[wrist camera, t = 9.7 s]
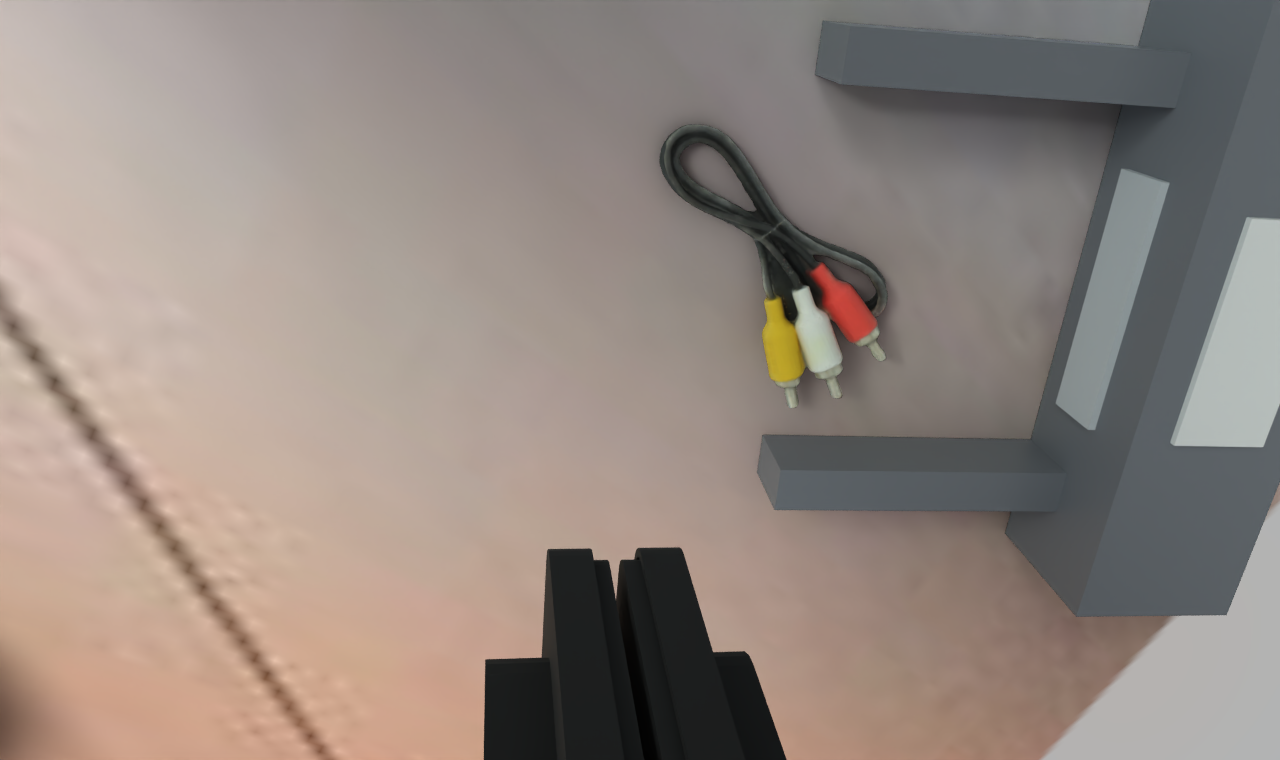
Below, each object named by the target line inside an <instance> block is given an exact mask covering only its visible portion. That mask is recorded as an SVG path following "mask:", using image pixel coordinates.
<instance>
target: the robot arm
mask: <svg viewBox="0 0 1280 760" xmlns="http://www.w3.org/2000/svg"><path fill="white" fill-rule="evenodd" d="M484 760H786V757H785V754H784V751H783V748H782V745H781V742H780V740H779V737H778V734H777V731H776V728H775V725H774V722H773V720H772V717H771V714H770V711H769V708H768V705H767V702H766V699H765V697H764V694H763V691H762V688H761V685H760V682H759V679H758V677H757V674H756V671H755V668H754V665H753V663H752V661H751V659H750V656H749V655H748V654H747V653H746V652H745V651H742V652H713V651H712V647H711V644H710V641H709V637H708V634H707V631H706V627H705V624H704V621H703V617H702V614H701V611H700V607H699V604H698V601H697V597H696V594H695V590H694V587H693V584H692V580H691V577H690V574H689V570H688V567H687V564H686V560H685V557H684V554H683V551H682V549H681V548H679V547H678V548H638V549H637V550H636V553H635V559H634V560H621V561H620V565H619V574H618V586H617V597H616V598H615V593H614V587H613V581H612V576H611V570H610V565H609V561H608V560H594V559H593V553H592V550H591V549H548V551H547V560H546V580H545V601H544V622H543V643H542V658H518V659H487V660H485V718H484Z"/></svg>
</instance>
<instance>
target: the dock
mask: <svg viewBox="0 0 1280 760" xmlns="http://www.w3.org/2000/svg"><path fill="white" fill-rule="evenodd" d="M815 75H817V76H820V77H823V78H825V79H828V80H831V81H833V82H836V83H839V84H843V85H857V86H871V87H885V88H899V89H913V90H927V91H942V92H956V93H970V94H984V95H998V96H1012V97H1026V98H1040V99H1054V100H1068V101H1082V102H1096V103H1111V104H1122V108H1121V111H1120V115H1119V119H1118V122H1117V126H1116V130H1115V133H1114V137H1113V141H1112V144H1111V148H1110V152H1109V155H1108V159H1107V163H1106V166H1105V170H1104V174H1103V177H1102V181H1101V185H1100V188H1099V192H1098V195H1097V199H1096V203H1095V206H1094V210H1093V214H1092V217H1091V221H1090V225H1089V228H1088V232H1087V236H1086V239H1085V243H1084V247H1083V250H1082V254H1081V258H1080V261H1079V265H1078V269H1077V272H1076V276H1075V280H1074V283H1073V287H1072V291H1071V294H1070V298H1069V302H1068V305H1067V309H1066V312H1065V316H1064V320H1063V323H1062V327H1061V331H1060V334H1059V338H1058V342H1057V345H1056V349H1055V353H1054V356H1053V360H1052V364H1051V367H1050V371H1049V375H1048V378H1047V382H1046V386H1045V389H1044V393H1043V397H1042V400H1041V404H1040V408H1039V411H1038V415H1037V419H1036V422H1035V426H1034V429H1033V433H1032V437H1031V439H973V438H915V437H857V436H800V435H763V436H762V443H761V449H760V456H759V463H758V470H757V473H758V476H759V478H760V480H761V482H762V484H763V486H764V488H765V491H766V493H767V495H768V497H769V499H770V501H771V503H772V506H773V508H774V510H868V511H1011V514H1010V517H1009V521H1008V525H1007V528H1006V532H1005V534H1006V535H1007V536H1008V537H1009V538H1010V540H1011V541H1012V542H1013V543H1014V544H1015V545H1016V547H1017V548H1018V549H1019V550H1020V551H1021V552H1022V554H1023V555H1024V556H1025V557H1026V558H1027V560H1028V561H1029V562H1030V563H1031V564H1032V565H1033V567H1034V568H1035V569H1036V570H1037V571H1038V572H1039V574H1040V575H1041V576H1042V577H1043V578H1044V579H1045V581H1046V582H1047V583H1048V584H1049V585H1050V587H1051V588H1052V589H1053V590H1054V591H1055V592H1056V594H1057V595H1058V596H1059V597H1060V598H1061V599H1062V601H1063V602H1064V603H1065V604H1066V605H1067V606H1068V608H1069V609H1070V610H1071V611H1072V612H1073V613H1074V615H1075V616H1076V617H1087V616H1182V615H1226V614H1227V612H1228V610H1229V607H1230V605H1231V602H1232V600H1233V597H1234V595H1235V592H1236V590H1237V587H1238V585H1239V582H1240V580H1241V577H1242V575H1243V572H1244V570H1245V567H1246V565H1247V562H1248V560H1249V557H1250V555H1251V552H1252V550H1253V547H1254V545H1255V542H1256V540H1257V537H1258V535H1259V532H1260V530H1261V527H1262V525H1263V522H1264V520H1265V517H1266V515H1267V512H1268V510H1269V507H1270V505H1271V502H1272V500H1273V497H1274V495H1275V492H1276V490H1277V487H1278V485H1279V482H1280V0H1151V2H1150V5H1149V9H1148V13H1147V16H1146V20H1145V24H1144V27H1143V31H1142V35H1141V38H1140V42H1139V46H1130V45H1118V44H1105V43H1093V42H1080V41H1068V40H1055V39H1043V38H1031V37H1018V36H1006V35H993V34H981V33H968V32H956V31H944V30H931V29H919V28H906V27H894V26H882V25H869V24H857V23H844V22H832V21H823V23H822V30H821V37H820V44H819V51H818V58H817V64H816V71H815Z"/></svg>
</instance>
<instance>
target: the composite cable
mask: <svg viewBox="0 0 1280 760" xmlns="http://www.w3.org/2000/svg"><path fill="white" fill-rule="evenodd" d="M694 143H705V144H707V145H709V146H711V147H713V148H714V149H715V150H717V151H718V152H719V153H720V154H721V155H722V156H723V157H724V158H725V159H726V161H727V162H728V164H729V165H730V167H732V169H733V170H734V172H735V173H736V175H737V177H738V178H739V180H740V181H741V183H742V185H743V187H744V189H745V191H746V192H747V193H748V195H749V197H750V198H751V200H752V201H753V203H754V206H755V208H756V209H757V210H756V211H755V212H749V211H745V210H743V209H742V208H741V207H739V206H737V205H735V204H733V203H731V202H730V201H728V200H726V199H724V198H722V197H720V196H718V195H716V194H714V193H712V192H710V191H708V190H706V189H705V188H703V187H702V186H700V185H698V184H697V183H695V182H694V181H693V180H692V179H691V178H690V177H688V176H687V174H686V173H685V172H684V170H683V168H682V166H681V163H680V155H681V153H682V151H683V150H684V149H685V148H686V147H688V146H689V145H691V144H694ZM660 166H661V169H662V173H663V175H664V177H665V178H666V180H667V181H668V183H669V185H670V186H671V187H672V189H673V190H674V191H675V192H676V193H677V194H678V195H679V196H680V197H682V198H683V199H684V200H685V201H686V202H688V203H690V204H691V205H693V206H694V207H696V208H698V209H700V210H702V211H704V212H706V213H709V214H711V215H713V216H715V217H717V218H720V219H722V220H724V221H726V222H727V223H730V224H732V225H734V226H735V227H737V228H739V229H741V230H742V231H744V232H745V233H747V234H748V235H750V236H751V237H752V238H753V239H754V241H755V243H756V246H757V248H758V253H759V258H760V262H761V268H762V279H763V287H764V290H765V293H766V296H767V298H766V299H765V300H764V305H765V310H766V315H767V323H766V325H765V327H764V328H763V331H762V338H763V344H764V349H765V354H766V360H767V365H768V370H769V376H770V378H771V379H772V380H774V381H775V383H776V385H777V386H779V387H782V388H784V389H785V395H786V400H787V406H788V407H789V408H796V407H797V406H798V395H797V391H796V386H797V385H799V382H800V377H801V375H802V374H803V372H804V370H805V369H806V368H807V367H808V368H809V370H810V371H812V372H814V373H815V376H816V378H817V379H825V380H826V382H827V386H828V388H829V390H830V395H831V396H832V397H833V398H836V399H839V398H841V397H842V395H843V394H842V391H841V388H840V386H839V383H838V380H837V377H836V376H837V375H838V374H840V373H841V372H842V370H843V366H842V364H841V361H842V359H843V356H842V352H841V350H840V347H839V345H838V342H837V339H836V336H835V333H834V330H833V327H832V324H831V322H830V319H831V320H832V321H834V322H835V323H836V324H837V325H838V327H839V329H840V331H841V332H842V333H843V334H844V336H845V337H846V339H847V340H848V341H849V342H852V343H854V344H856V345H857V346H860V347H861V346H865V345H866V346H867V347H868V348H870V350H871V353H872V355H873V356H874V357H875V358H876V359H877V360H878V361H884V360H885V359H886V354H885V352H884V351H883V350H882V348H881V347H880V346H879V344H878V342H877V338H878V336H879V334H880V330H879V328H878V326H877V320H876V319H875V318H876V317H878V316H879V315H880V314H881V312H882V311H883V310H884V308H885V306H886V303H887V297H888V296H887V290H886V284H885V280H884V278H883V276H882V275H881V273H880V272H879V271H878V270H877V268H876V267H875V266H874V265H873V264H872V263H871V262H870V261H869V260H867V259H866V258H864V257H862V256H860V255H858V254H856V253H854V252H850V251H848V250H846V249H844V248H841V247H837V246H835V245H832V244H829V243H826V242H824V241H822V240H819V239H817V238H815V237H813V236H810V235H808V234H807V233H805V232H803V231H801V230H799V229H798V228H797V227H795V226H794V225H792V224H791V223H790V222H789V221H788V220H787V219H786V218H785V217H784V216H783V215H782V214H781V213H780V212H779V210H778V209H777V208H776V206H775V205H774V203H773V202H772V200H771V198H770V197H769V195H768V194H767V192H766V191H765V189H764V187H763V186H762V184H761V182H760V180H759V179H758V177H757V175H756V173H755V172H754V170H753V168H752V167H751V165H750V164H749V162H748V161H747V159H746V157H745V156H744V154H743V153H742V152H741V150H740V149H739V148H738V147H737V146H736V145H735V143H734V142H733V141H732V140H731V139H730V138H729V137H728V136H727V135H725V134H724V133H722V132H721V131H720V130H718V129H716V128H713V127H711V126H706V125H685V126H683V127H680V128H679V129H677V130H676V131H674V132H673V133H672V134H671V135H669V136H668V138H667V139H666V141H665V142H664V144H663V146H662V148H661V153H660ZM813 255H823V256H827V257H830V258H832V259H834V260H837V261H840V262H842V263H844V264H846V265H848V266H851V267H853V268H855V269H858V270H860V271H862V272H863V273H865V274H866V275H867V276H868V277H869V279H870V280H871V282H872V283H873V284H874V286H875V288H876V294H875V296H874V297H873V298H872V299H871V300H869V301H867V302H866V303H864V302H863V300H862V299H861V297H860V296H859V295H858V293H857V292H856V291H855V289H854V288H853V286H852V285H851V284H849V283H848V282H844V281H841V280H838V279H837V278H835V277H834V275H833V274H832V273H831V271H830V270H829V269H828V267H827V266H826V265H825V264H824V263H823V262H817V261H816V260H815V259H814V257H813Z"/></svg>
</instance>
